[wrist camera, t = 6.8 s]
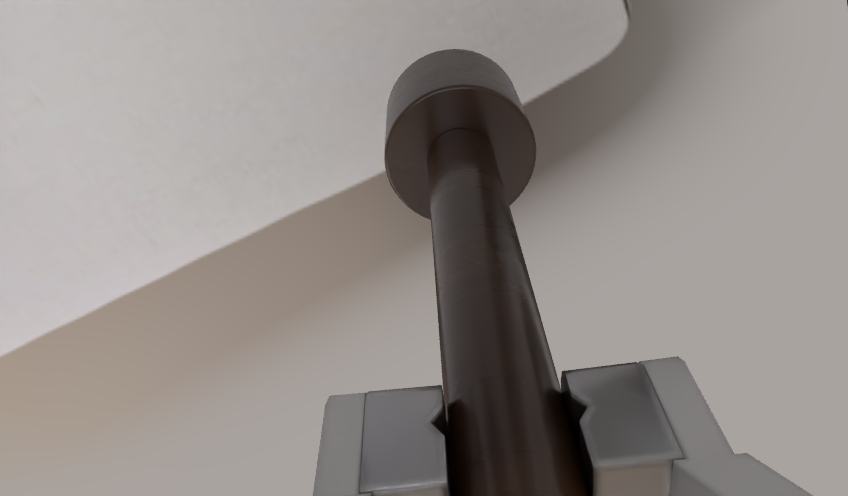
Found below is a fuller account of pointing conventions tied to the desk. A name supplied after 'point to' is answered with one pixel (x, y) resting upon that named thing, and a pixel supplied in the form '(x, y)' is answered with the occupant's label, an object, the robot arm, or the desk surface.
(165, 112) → the desk surface
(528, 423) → the stirrer
